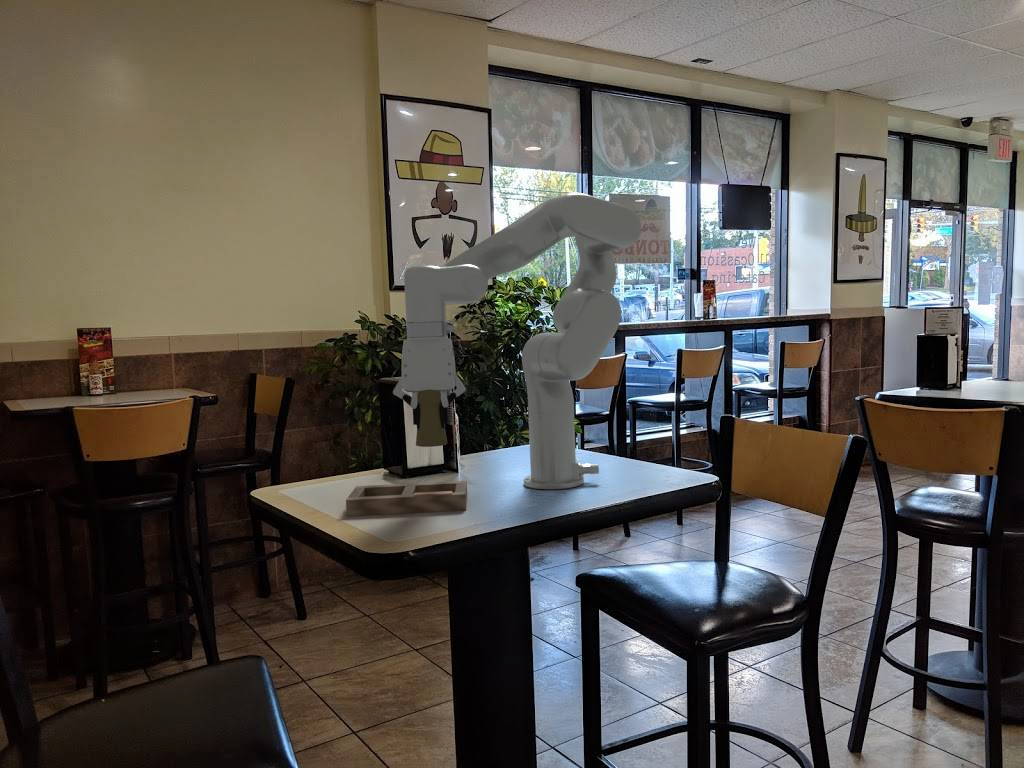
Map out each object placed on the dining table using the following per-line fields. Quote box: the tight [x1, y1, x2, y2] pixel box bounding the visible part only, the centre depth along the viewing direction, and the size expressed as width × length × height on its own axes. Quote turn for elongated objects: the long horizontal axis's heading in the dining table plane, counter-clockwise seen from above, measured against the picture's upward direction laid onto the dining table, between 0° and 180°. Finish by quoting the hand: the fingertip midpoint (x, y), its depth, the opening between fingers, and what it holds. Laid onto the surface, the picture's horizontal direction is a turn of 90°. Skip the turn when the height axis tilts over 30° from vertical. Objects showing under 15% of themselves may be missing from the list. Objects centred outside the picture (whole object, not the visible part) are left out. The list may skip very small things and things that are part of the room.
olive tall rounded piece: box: [415, 390, 448, 448], centre depth 152 cm, size 6×6×11 cm
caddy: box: [345, 480, 468, 517], centre depth 153 cm, size 22×12×3 cm, turn 92°
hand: (431, 427), depth 152 cm, fingers closed on olive tall rounded piece, 3 cm apart
